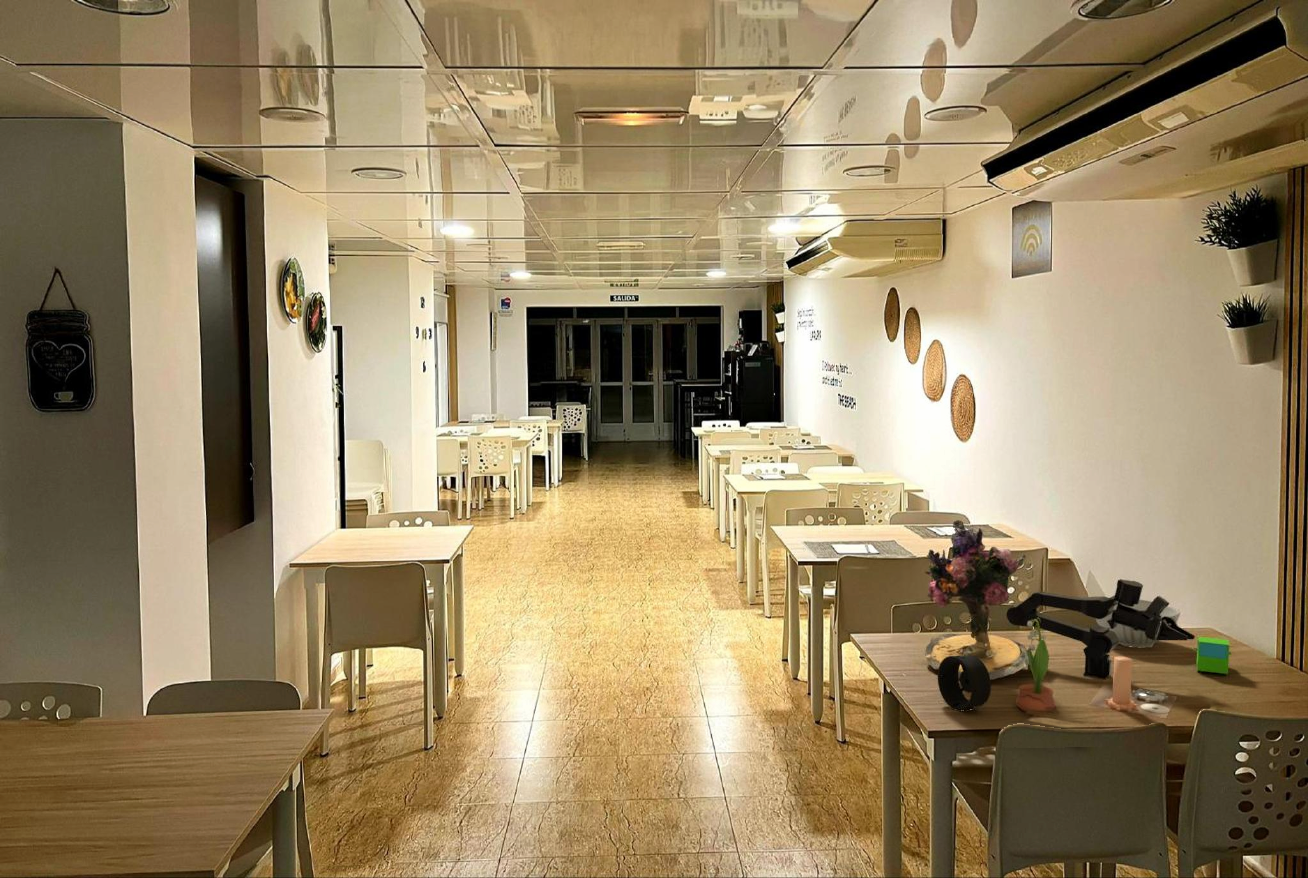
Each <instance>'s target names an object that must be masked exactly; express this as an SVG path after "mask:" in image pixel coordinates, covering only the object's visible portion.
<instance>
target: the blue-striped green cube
mask: <svg viewBox="0 0 1308 878" xmlns="http://www.w3.org/2000/svg"><path fill="white" fill-rule="evenodd" d="M1230 645H1231V644H1230V640H1229V639H1222V638H1212V637H1205V636H1204V637H1203V636H1197V648H1196V647H1195V648H1193V651H1194V652H1195V651H1196V671H1197V672H1198V673H1202V672H1209V673H1217V674H1222V676H1227V675H1228V674H1229V664H1230V663H1229V660H1230V659H1229V658H1230V656H1231V655H1232V652H1230Z"/></svg>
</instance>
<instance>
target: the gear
mask: <svg viewBox="0 0 1308 878" xmlns="http://www.w3.org/2000/svg"><path fill="white" fill-rule="evenodd" d="M1136 690H1137V691H1133V692H1132V696H1135V699H1136V700H1141V701H1145V702H1146V703H1150V702H1151V703H1159V704H1161V703H1162V702H1164V701H1165V702H1167V701H1168V696H1165V695H1166V693H1165V692H1160V691H1157V690H1155V689H1144V688H1143V689H1142V688H1137V689H1136Z"/></svg>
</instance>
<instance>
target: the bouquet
mask: <svg viewBox="0 0 1308 878" xmlns="http://www.w3.org/2000/svg"><path fill="white" fill-rule="evenodd" d="M952 527H953V529H954V530H953V531H954V532H955V533H952V537H951V538H950V541H951V544H952V547H951V553H952V558H946V550H944V549H943V550H942V555H940V552H939V551H937V552H936V553H935V551H934V550H933V549H929V550H928V554H927V555H926V558H927V559H928V561H929V562H930V563H931V564H934V566H931V565H929V566H928V568H929V570H928V571H926V570H925V571H924V574H927V575H928V576H930V577H931V578H932V579H933V580H934V581H931V582H928V583H927V584H928V585H927V586H928V592H927V597H928V598H931V599H932V600H933V601H934V602H935V603H936V604H937V606H938V607H941V608H944V607H947V606H948V605H951V604H952V603H953V601H952V600H951V599H952V598H956V599H957V600H958V601H960V602H961V603H963V604H964V605H965V606H966V608H967V609H968V613H969V615H970V616H969V617H970V624H969V625H970V630H971V631H970V632H971V633H970V634H965V635H963V634H958V633H946V634H945V633H944V634H939V635H937V636H935V637H932V638H931V639H930V640H929V641H930V642H929V643H928V644H927V645H926V646H925V650H924V651H925V652H924V655H925V659H926V661H927V664H928V665H929V666H931V667H932V668H933V669H934V670H938V669H939V666H940V664H941V662H942V661H943V659H945V658H946V657H948V656H965V655H973V656H976V657H977V658H979V659H980V660H981V661H982V662H983V663H984V665H985V666H986V668H987V670H988V673H989V676H990V681H991V680H996V679H998V678H1004V677H1005V676H1009V675H1013V674H1015V673H1017V672H1019V671H1020V670H1022V669H1023V668H1026V667H1027V671H1028V672H1030V671H1031V668H1030V665H1029V660H1028V649H1027V648H1026V646H1025V645H1024V644H1021V643H1020V642H1017V641H1015V640H1013V639H1010V638H1005V637H1002V636H999V635H998V636H997V635H991V634H989V633H988V630H989V629H988V628H989V618H990V617H989V616H990V609H989V606H991V607H999V606H1002V605H1004V604H1005V603H1007V602H1008V600H1009V598H1010V595H1009V593H1008V587H1009V577H1010V576H1012V575H1013V574H1015V573H1016V572H1017V571H1018V569H1019V567H1022V565H1024V563H1025V561H1026V558H1027V557H1026V555H1025V554H1022V556H1021V557H1020V558H1019V559H1018V558H1013V559H1012V558H1011V557H1012V556H1011V555H1012V554H1013V551H1011V549H1009V548H1007V549H1006V548H1005V547H1003V548H999V549H998V548H997V547H996V546H991V548H990V549H989V551H988V552H986V551H984V550H985V549H986V545H984V544H983V535H984V533H983V532H984V531H983V530H982V528H978V529H977V530H978V531H977V532H975V531H974V528H973V527H971V528H968V529H966V526H965V524H964V521H962V520H959V519H956V520H954V521H953V523H952ZM940 556H941V557H940ZM962 671H963V669H962V666H961V664H960V667H959V672H958V678H959V679H960V675H961V673H962Z"/></svg>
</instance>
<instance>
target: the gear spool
mask: <svg viewBox="0 0 1308 878" xmlns="http://www.w3.org/2000/svg"><path fill="white" fill-rule="evenodd" d="M1113 660H1114V661H1113V677H1112V678H1113V679H1112V686H1113V696H1112V697H1111V699H1106V704H1107V707H1109V708H1114V709H1113V710H1115V709H1116V711H1120V710H1127V711H1131V710H1133V709H1137V704H1135V702H1134V701H1130V695H1131V689H1132V674H1133V659H1132V658H1130V657H1126V656H1115V657H1114V658H1113ZM1109 708H1108V709H1109Z"/></svg>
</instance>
